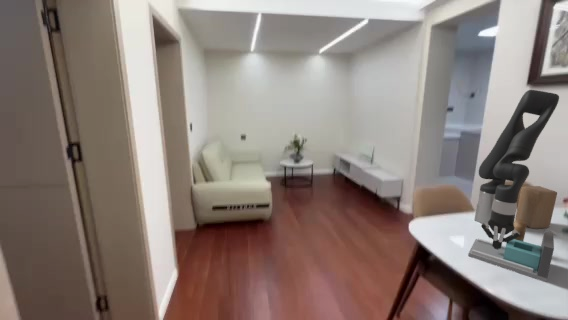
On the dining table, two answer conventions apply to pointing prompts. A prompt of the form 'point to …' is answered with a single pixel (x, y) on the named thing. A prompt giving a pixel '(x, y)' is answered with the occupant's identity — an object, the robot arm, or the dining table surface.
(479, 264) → the dining table surface
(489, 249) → the rail base
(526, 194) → the block
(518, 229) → the dowel
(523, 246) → the socket block
